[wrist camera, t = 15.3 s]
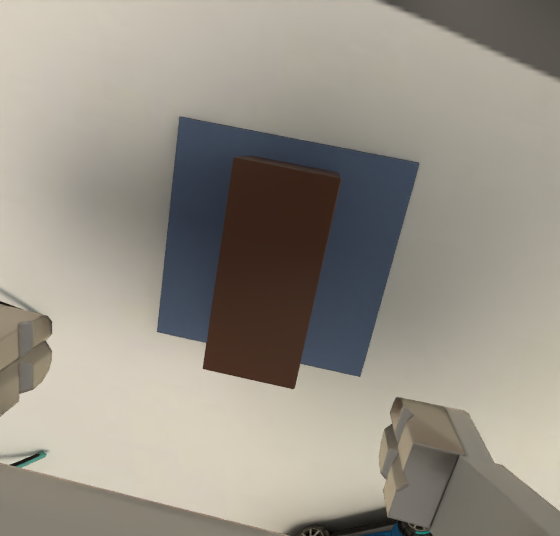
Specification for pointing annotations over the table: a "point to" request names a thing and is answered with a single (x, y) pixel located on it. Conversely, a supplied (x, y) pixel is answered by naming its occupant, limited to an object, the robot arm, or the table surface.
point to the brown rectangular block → (269, 268)
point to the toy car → (371, 530)
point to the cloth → (339, 251)
